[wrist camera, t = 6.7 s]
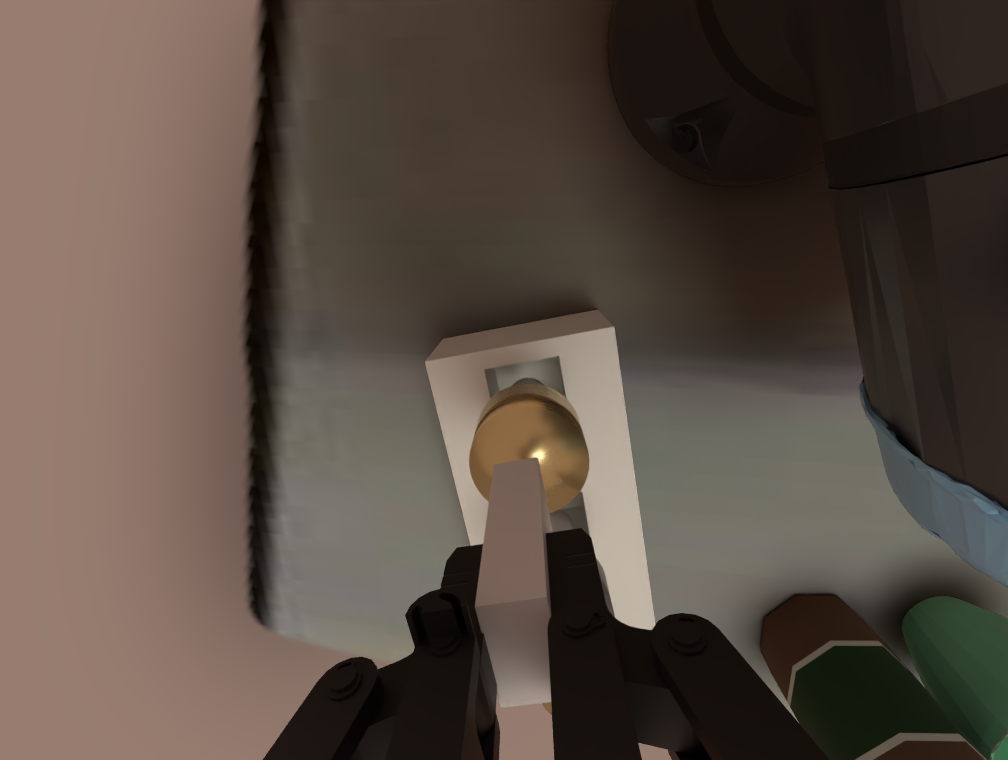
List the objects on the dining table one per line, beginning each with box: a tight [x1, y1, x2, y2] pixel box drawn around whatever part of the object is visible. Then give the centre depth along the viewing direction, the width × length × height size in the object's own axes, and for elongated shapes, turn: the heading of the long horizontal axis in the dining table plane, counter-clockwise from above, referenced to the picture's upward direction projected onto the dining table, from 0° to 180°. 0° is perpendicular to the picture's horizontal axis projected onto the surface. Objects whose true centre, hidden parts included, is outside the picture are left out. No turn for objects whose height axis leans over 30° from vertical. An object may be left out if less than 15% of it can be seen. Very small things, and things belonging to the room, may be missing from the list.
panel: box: [425, 310, 655, 630], centre depth 31 cm, size 22×10×6 cm, turn 11°
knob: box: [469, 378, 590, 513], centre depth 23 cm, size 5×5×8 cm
